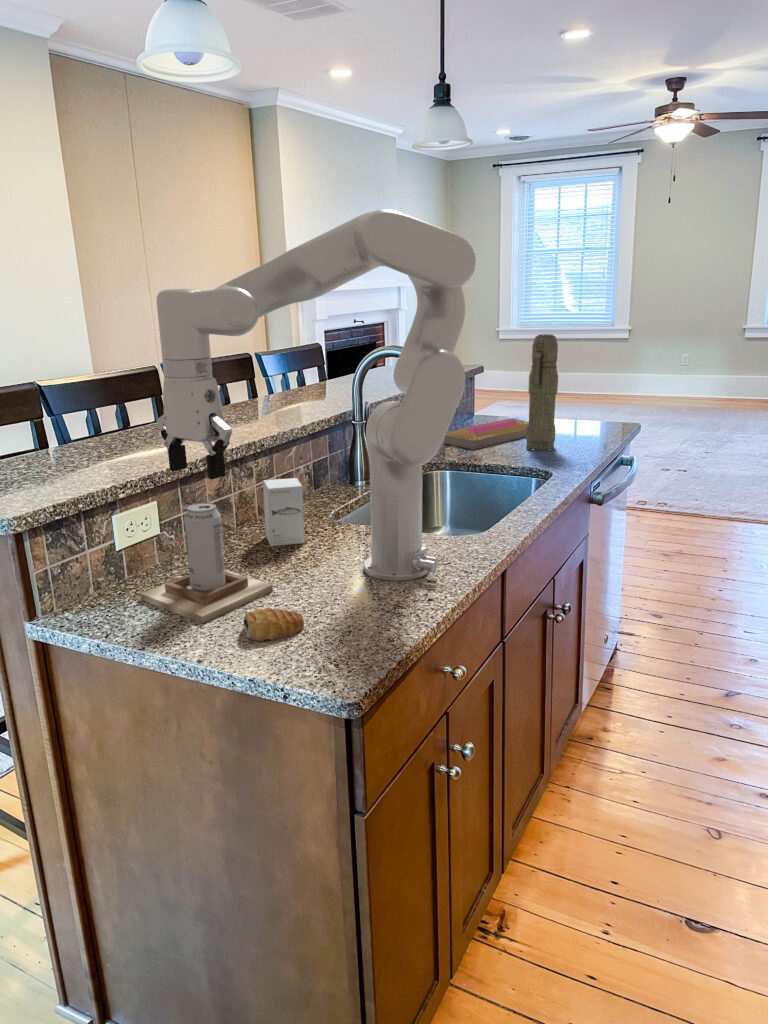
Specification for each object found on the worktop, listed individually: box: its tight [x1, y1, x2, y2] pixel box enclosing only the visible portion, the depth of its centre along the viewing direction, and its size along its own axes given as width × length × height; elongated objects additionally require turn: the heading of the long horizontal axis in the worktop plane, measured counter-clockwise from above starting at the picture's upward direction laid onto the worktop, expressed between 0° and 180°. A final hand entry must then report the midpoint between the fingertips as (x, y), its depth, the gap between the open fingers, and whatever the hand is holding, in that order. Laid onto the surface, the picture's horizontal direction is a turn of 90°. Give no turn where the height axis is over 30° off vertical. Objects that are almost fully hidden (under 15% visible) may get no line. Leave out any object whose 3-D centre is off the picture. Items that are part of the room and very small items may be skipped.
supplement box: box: [262, 477, 306, 548], centre depth 159 cm, size 7×7×13 cm
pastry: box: [242, 607, 305, 642], centre depth 119 cm, size 9×7×4 cm
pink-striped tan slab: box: [444, 417, 529, 451], centre depth 254 cm, size 35×14×6 cm, turn 132°
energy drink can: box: [183, 502, 226, 594], centre depth 131 cm, size 6×6×15 cm
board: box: [139, 569, 274, 624], centre depth 133 cm, size 16×16×3 cm
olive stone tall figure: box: [525, 333, 559, 451], centre depth 236 cm, size 9×12×35 cm
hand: (197, 473), depth 127 cm, fingers open, 9 cm apart
